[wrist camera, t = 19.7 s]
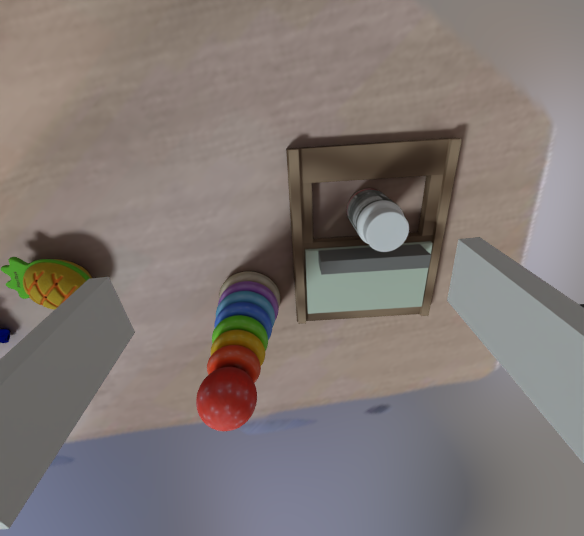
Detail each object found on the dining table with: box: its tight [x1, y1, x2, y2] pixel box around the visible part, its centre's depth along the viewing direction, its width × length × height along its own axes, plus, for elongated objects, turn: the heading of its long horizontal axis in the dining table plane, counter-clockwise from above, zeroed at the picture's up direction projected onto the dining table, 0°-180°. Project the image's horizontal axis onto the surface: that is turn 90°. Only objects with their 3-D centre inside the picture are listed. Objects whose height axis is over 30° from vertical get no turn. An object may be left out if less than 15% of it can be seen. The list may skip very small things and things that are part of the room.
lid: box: [305, 241, 433, 314], centre depth 36 cm, size 9×15×4 cm, turn 93°
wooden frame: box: [286, 138, 462, 324], centre depth 36 cm, size 22×18×2 cm
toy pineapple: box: [1, 257, 92, 309], centre depth 35 cm, size 7×10×5 cm
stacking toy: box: [196, 272, 280, 431], centre depth 32 cm, size 8×8×19 cm
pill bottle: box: [347, 188, 409, 252], centre depth 31 cm, size 5×5×8 cm
